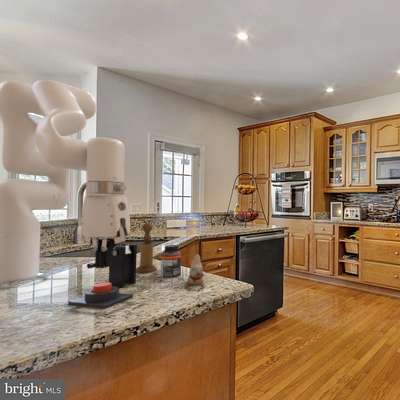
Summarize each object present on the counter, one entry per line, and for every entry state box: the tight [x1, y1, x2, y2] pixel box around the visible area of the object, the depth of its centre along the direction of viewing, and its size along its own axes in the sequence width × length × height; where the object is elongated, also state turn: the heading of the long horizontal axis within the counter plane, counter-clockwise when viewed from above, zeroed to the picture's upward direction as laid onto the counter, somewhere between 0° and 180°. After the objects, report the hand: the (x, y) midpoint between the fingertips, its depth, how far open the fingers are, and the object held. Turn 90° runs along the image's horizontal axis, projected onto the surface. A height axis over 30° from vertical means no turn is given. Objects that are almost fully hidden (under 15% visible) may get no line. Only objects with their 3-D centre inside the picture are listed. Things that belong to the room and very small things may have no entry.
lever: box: [86, 245, 131, 269], centre depth 81 cm, size 12×5×2 cm, turn 78°
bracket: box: [108, 243, 138, 289], centre depth 80 cm, size 10×8×13 cm
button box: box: [67, 286, 134, 310], centre depth 67 cm, size 10×8×4 cm
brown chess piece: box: [136, 222, 158, 274], centre depth 97 cm, size 7×6×18 cm
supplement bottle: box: [160, 244, 182, 279], centre depth 91 cm, size 6×6×11 cm
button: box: [92, 281, 112, 293], centre depth 67 cm, size 4×4×2 cm
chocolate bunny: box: [186, 254, 205, 290], centre depth 84 cm, size 6×8×10 cm
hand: (104, 266), depth 67 cm, fingers closed
